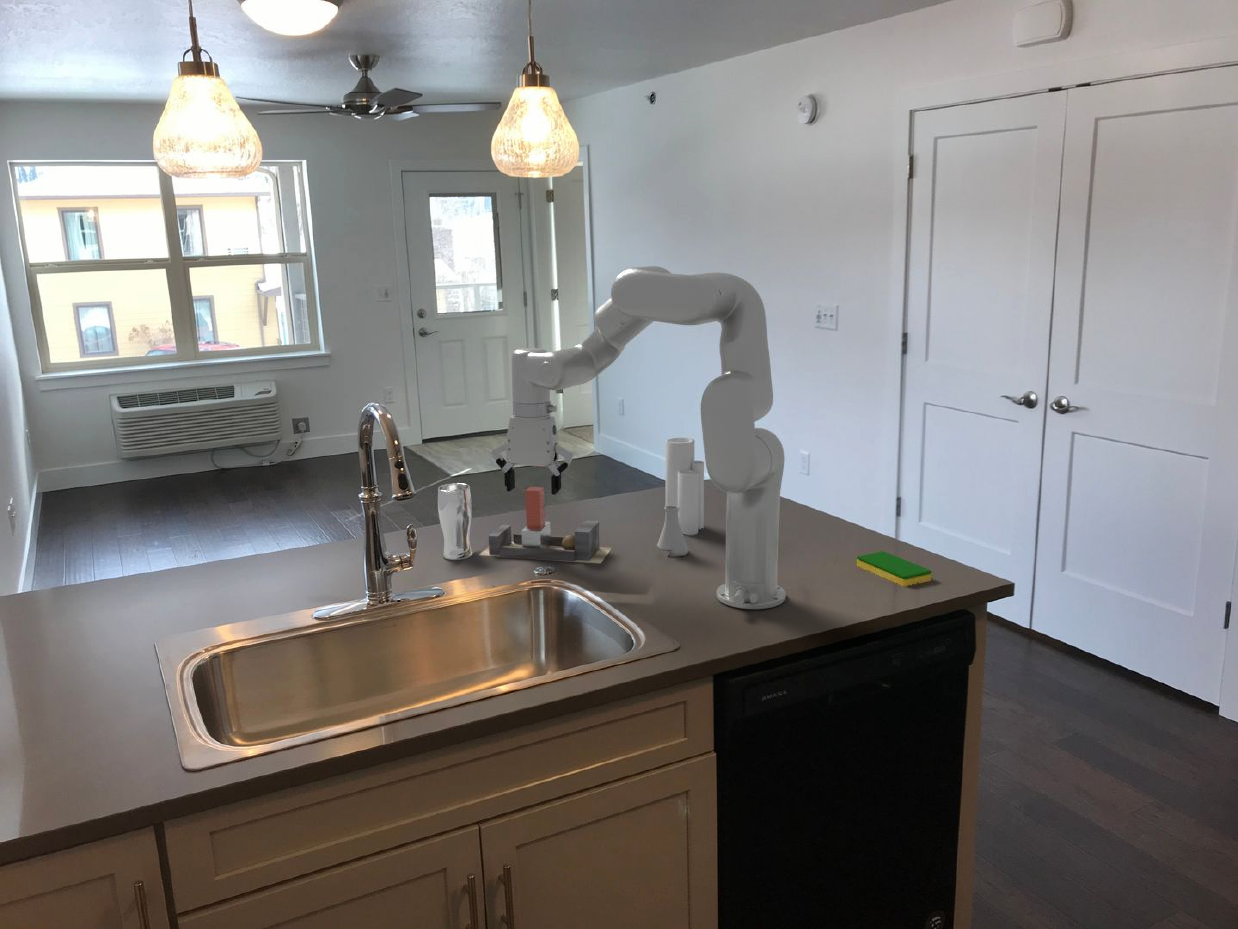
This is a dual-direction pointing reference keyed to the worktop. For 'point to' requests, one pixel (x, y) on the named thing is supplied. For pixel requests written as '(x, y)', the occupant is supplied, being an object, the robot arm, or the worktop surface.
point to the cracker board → (584, 546)
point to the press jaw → (536, 520)
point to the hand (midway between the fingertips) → (533, 491)
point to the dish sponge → (894, 568)
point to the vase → (685, 483)
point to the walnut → (569, 542)
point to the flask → (672, 533)
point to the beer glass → (455, 519)
